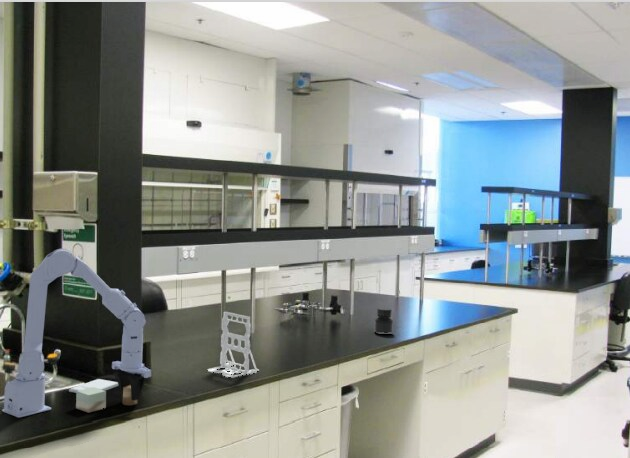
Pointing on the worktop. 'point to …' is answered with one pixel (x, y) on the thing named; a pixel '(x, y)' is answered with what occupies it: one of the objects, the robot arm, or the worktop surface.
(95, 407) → the slab lower
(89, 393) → the slab upper
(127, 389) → the beech cylinder
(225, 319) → the grey upright openwork frame
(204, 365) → the worktop surface
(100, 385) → the external hard drive
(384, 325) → the ink bottle
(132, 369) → the robot arm
